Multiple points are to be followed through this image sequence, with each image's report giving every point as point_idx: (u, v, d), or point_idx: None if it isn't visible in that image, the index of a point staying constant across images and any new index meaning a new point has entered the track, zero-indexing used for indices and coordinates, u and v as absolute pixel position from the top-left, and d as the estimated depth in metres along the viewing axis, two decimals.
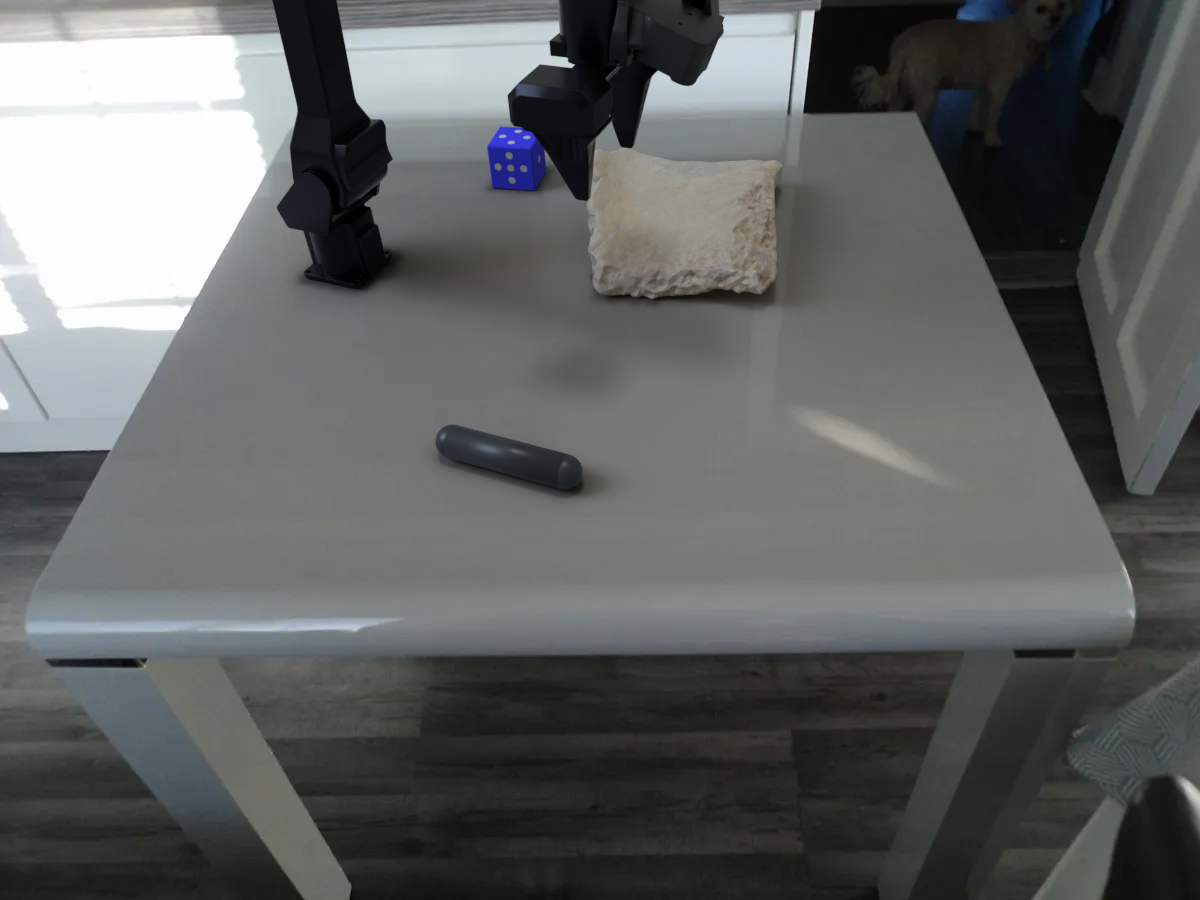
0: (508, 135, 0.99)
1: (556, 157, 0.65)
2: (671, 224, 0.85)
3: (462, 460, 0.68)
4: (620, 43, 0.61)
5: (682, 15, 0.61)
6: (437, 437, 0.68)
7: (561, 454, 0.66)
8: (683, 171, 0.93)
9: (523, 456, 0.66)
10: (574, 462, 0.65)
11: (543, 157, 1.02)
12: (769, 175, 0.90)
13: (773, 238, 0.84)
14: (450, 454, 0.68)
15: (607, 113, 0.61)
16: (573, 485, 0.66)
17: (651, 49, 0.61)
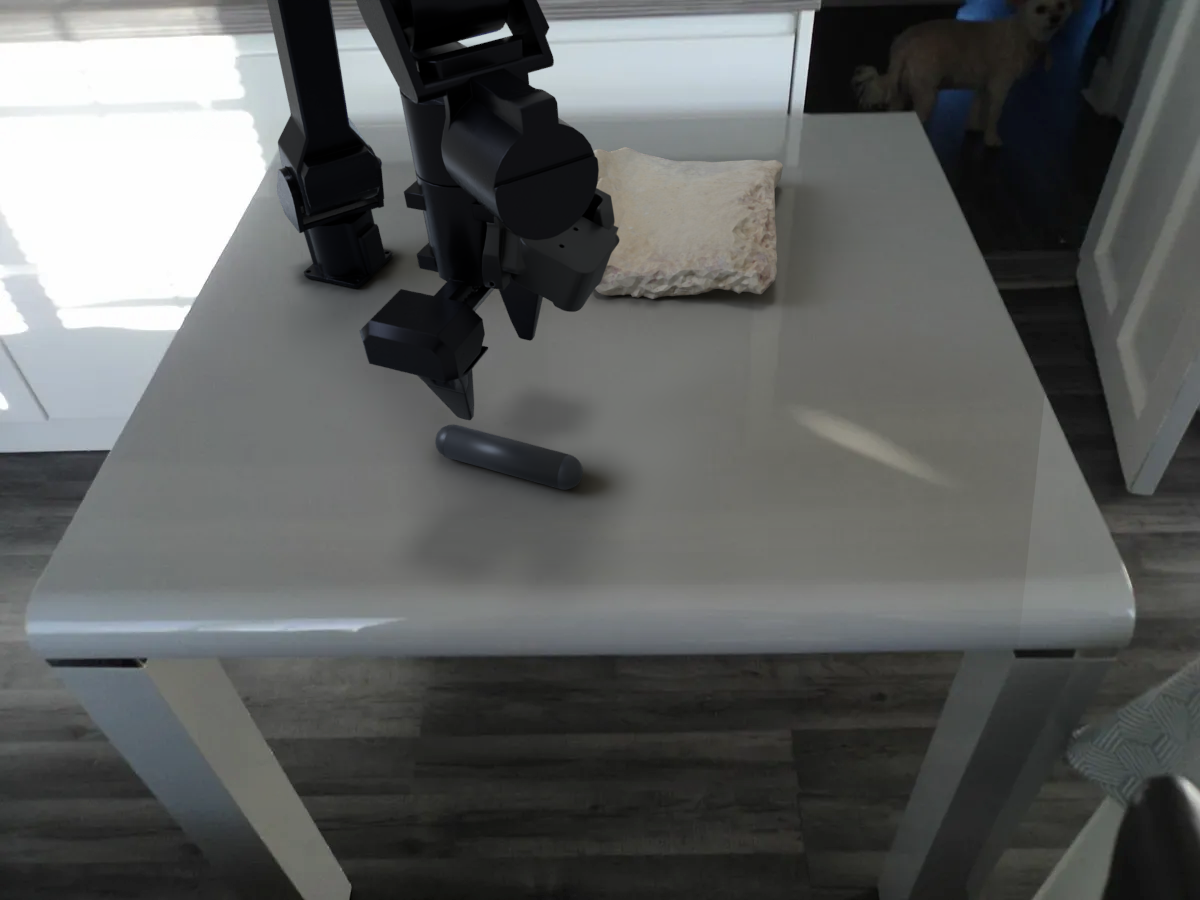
0: None
1: (429, 381, 0.57)
2: (671, 224, 0.85)
3: (462, 460, 0.68)
4: (493, 267, 0.52)
5: (566, 232, 0.53)
6: (437, 437, 0.68)
7: (561, 454, 0.66)
8: (683, 171, 0.93)
9: (523, 456, 0.66)
10: (574, 462, 0.65)
11: None
12: (769, 174, 0.90)
13: (773, 238, 0.84)
14: (450, 454, 0.68)
15: (478, 349, 0.52)
16: (573, 485, 0.66)
17: (529, 273, 0.52)
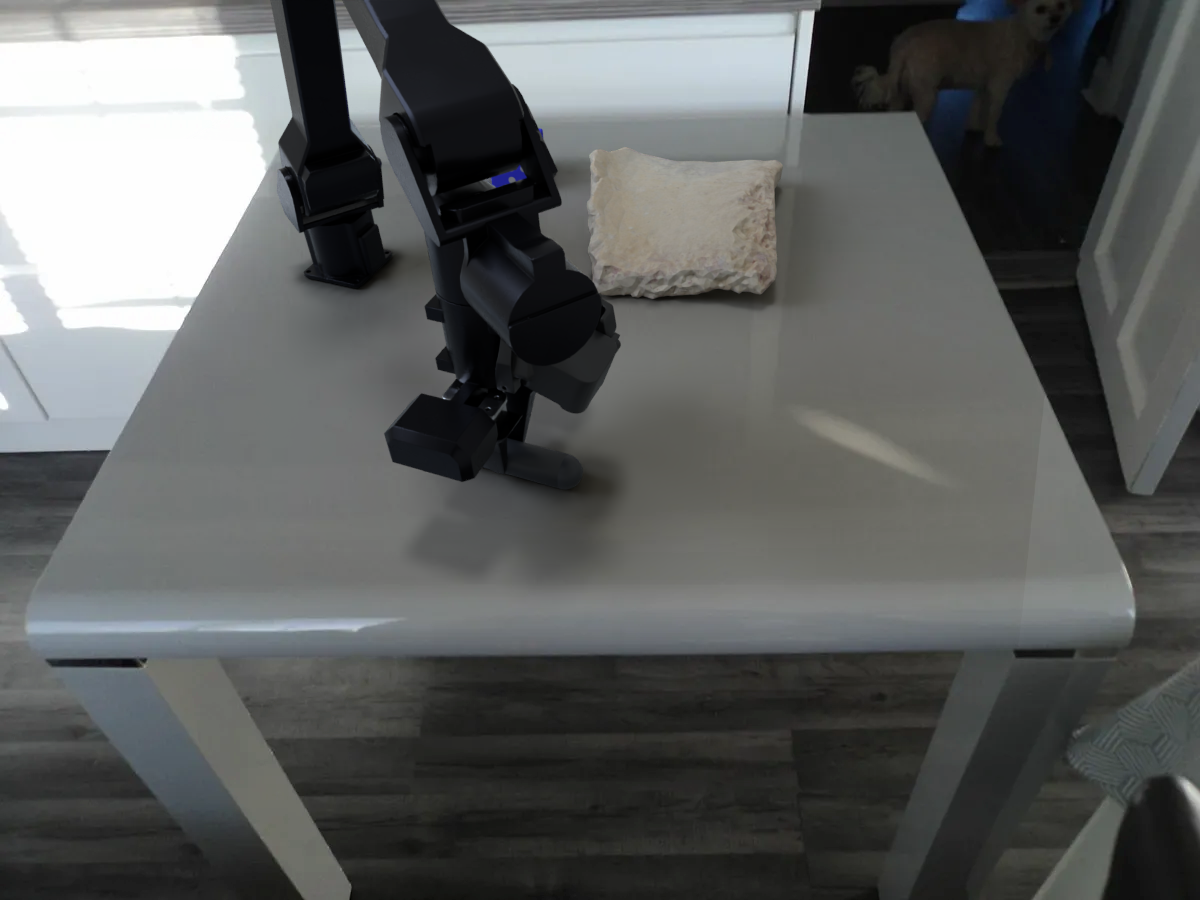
0: None
1: None
2: (671, 224, 0.85)
3: None
4: (505, 374, 0.57)
5: None
6: None
7: (561, 454, 0.66)
8: (683, 171, 0.93)
9: (523, 456, 0.66)
10: (574, 462, 0.65)
11: None
12: (769, 174, 0.90)
13: (773, 238, 0.84)
14: None
15: (491, 449, 0.57)
16: (573, 485, 0.66)
17: (538, 380, 0.57)
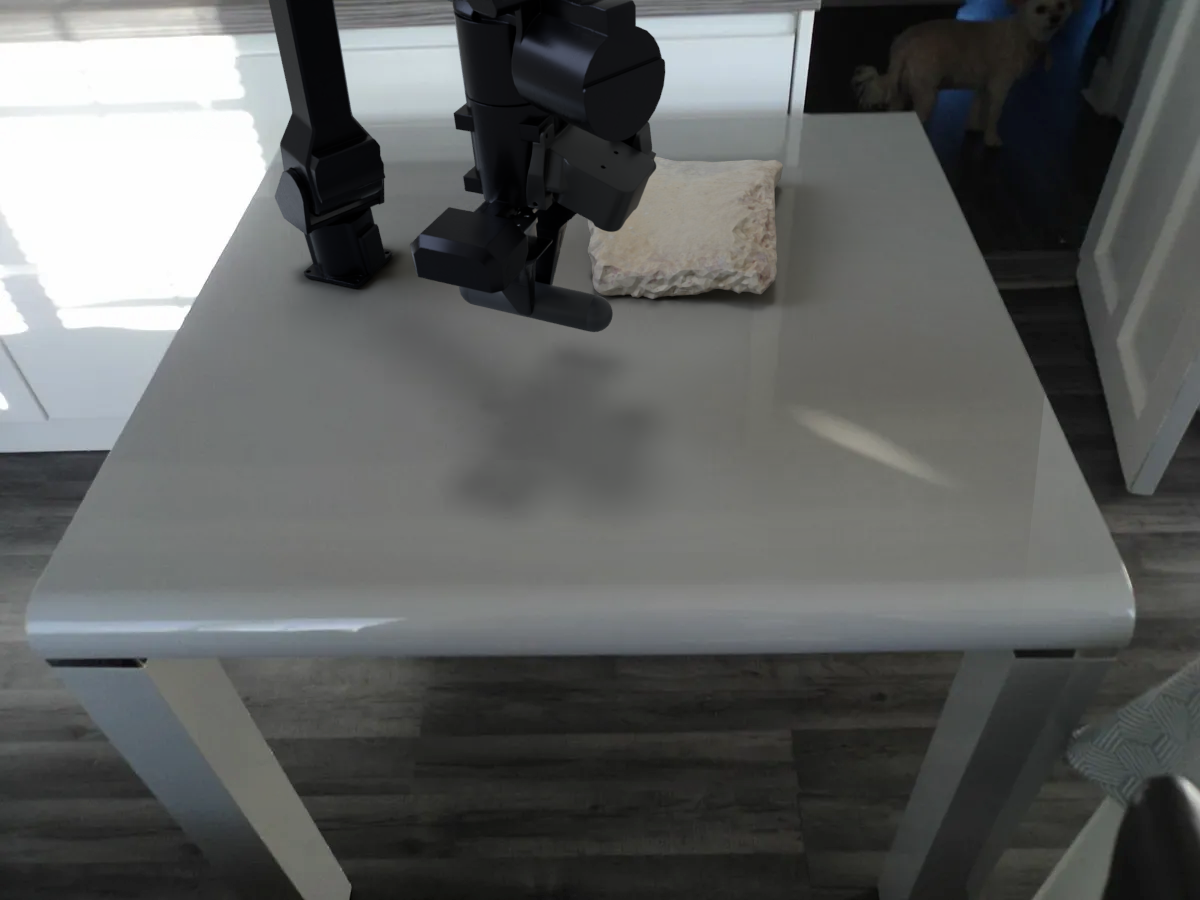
0: None
1: None
2: (671, 224, 0.85)
3: (487, 305, 0.66)
4: (537, 186, 0.55)
5: (607, 155, 0.55)
6: None
7: (590, 294, 0.63)
8: (683, 171, 0.93)
9: (551, 296, 0.63)
10: (604, 302, 0.63)
11: None
12: (769, 174, 0.90)
13: (773, 238, 0.84)
14: (475, 298, 0.66)
15: (522, 264, 0.55)
16: (603, 326, 0.63)
17: (571, 193, 0.55)
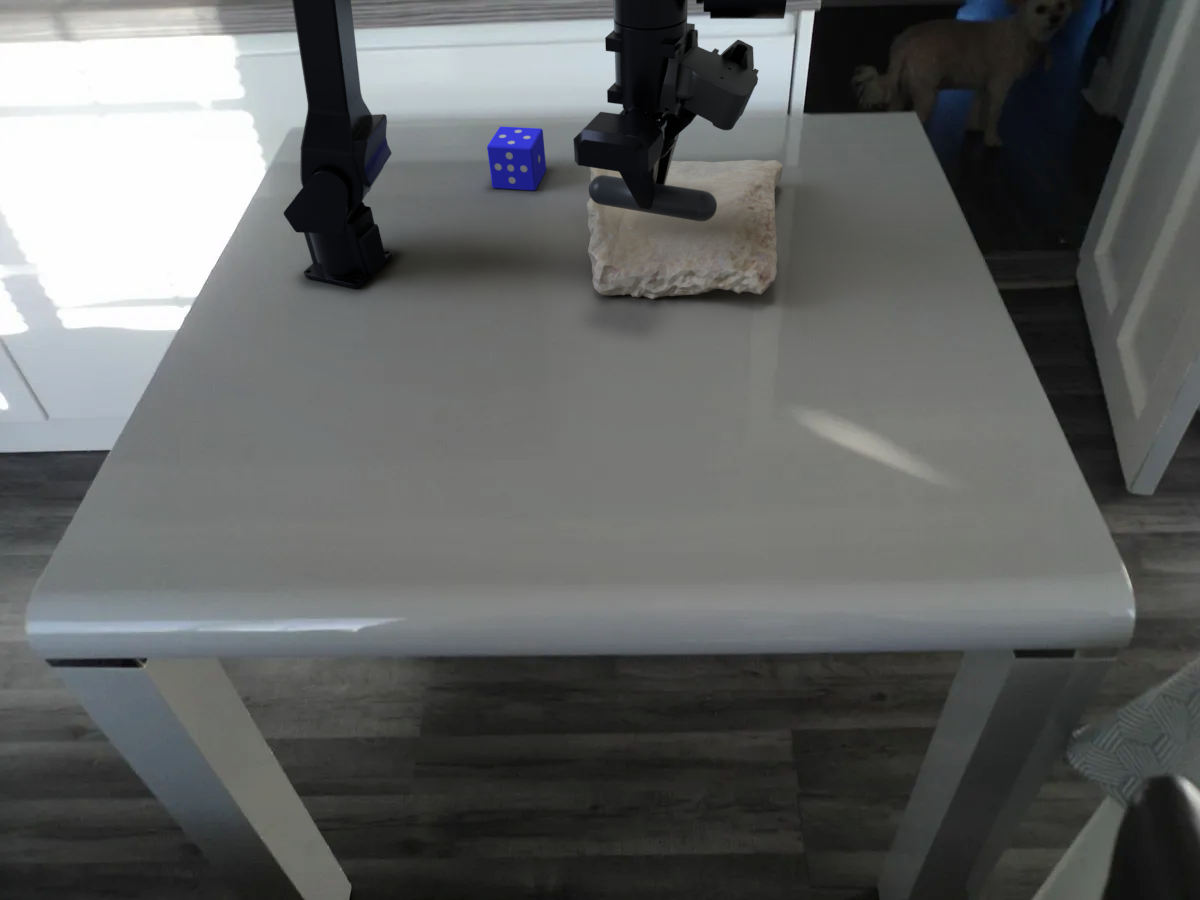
0: (508, 135, 0.99)
1: (625, 173, 0.77)
2: (671, 224, 0.85)
3: (613, 203, 0.81)
4: (670, 94, 0.71)
5: (723, 70, 0.71)
6: (591, 184, 0.82)
7: (699, 190, 0.79)
8: (683, 171, 0.93)
9: (668, 192, 0.79)
10: (711, 195, 0.79)
11: (543, 157, 1.02)
12: (769, 175, 0.90)
13: (773, 238, 0.84)
14: (603, 198, 0.81)
15: (659, 154, 0.71)
16: (709, 215, 0.79)
17: (696, 99, 0.71)
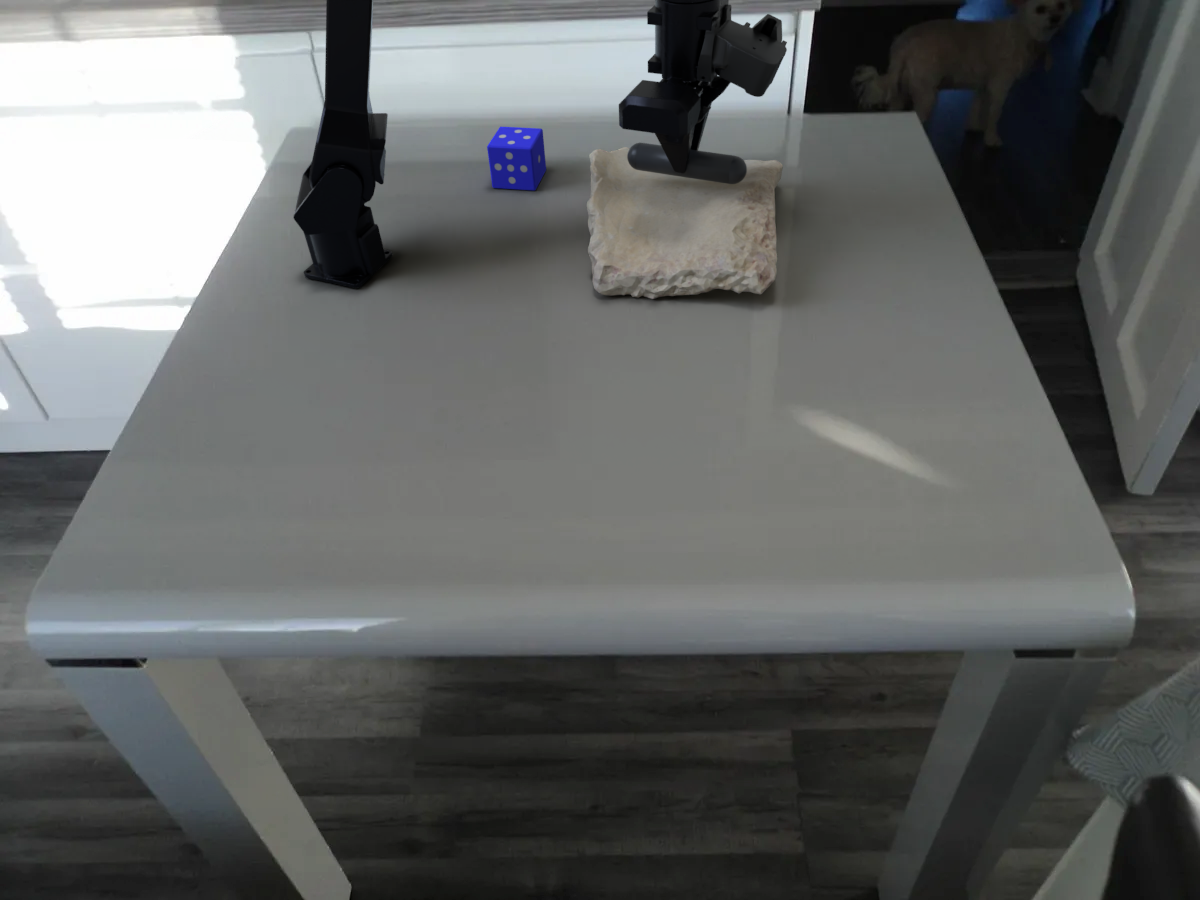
0: (508, 135, 0.99)
1: (663, 138, 0.84)
2: (671, 224, 0.85)
3: (650, 168, 0.88)
4: (706, 63, 0.77)
5: (755, 41, 0.78)
6: (630, 151, 0.88)
7: (731, 155, 0.86)
8: None
9: (702, 157, 0.86)
10: (741, 160, 0.85)
11: (543, 157, 1.02)
12: (769, 174, 0.90)
13: (773, 238, 0.84)
14: (641, 163, 0.88)
15: (696, 119, 0.77)
16: (740, 178, 0.86)
17: (730, 68, 0.77)
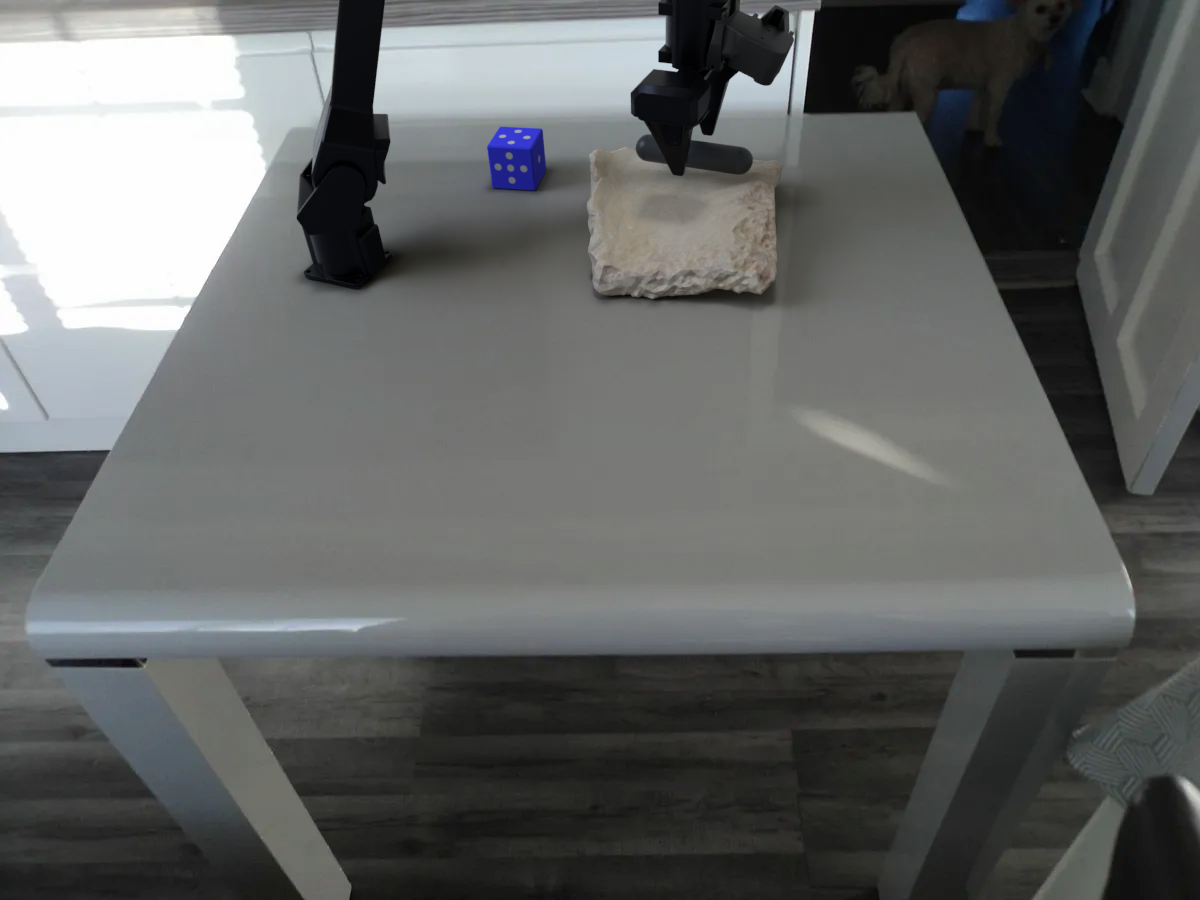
0: (508, 135, 0.99)
1: (661, 141, 0.84)
2: (671, 224, 0.85)
3: (658, 160, 0.90)
4: (716, 53, 0.79)
5: (763, 31, 0.80)
6: (638, 143, 0.90)
7: (737, 146, 0.87)
8: None
9: (708, 149, 0.88)
10: (747, 151, 0.87)
11: (543, 157, 1.02)
12: (769, 174, 0.90)
13: (773, 238, 0.84)
14: (649, 156, 0.90)
15: (706, 107, 0.79)
16: (746, 169, 0.88)
17: (739, 57, 0.79)
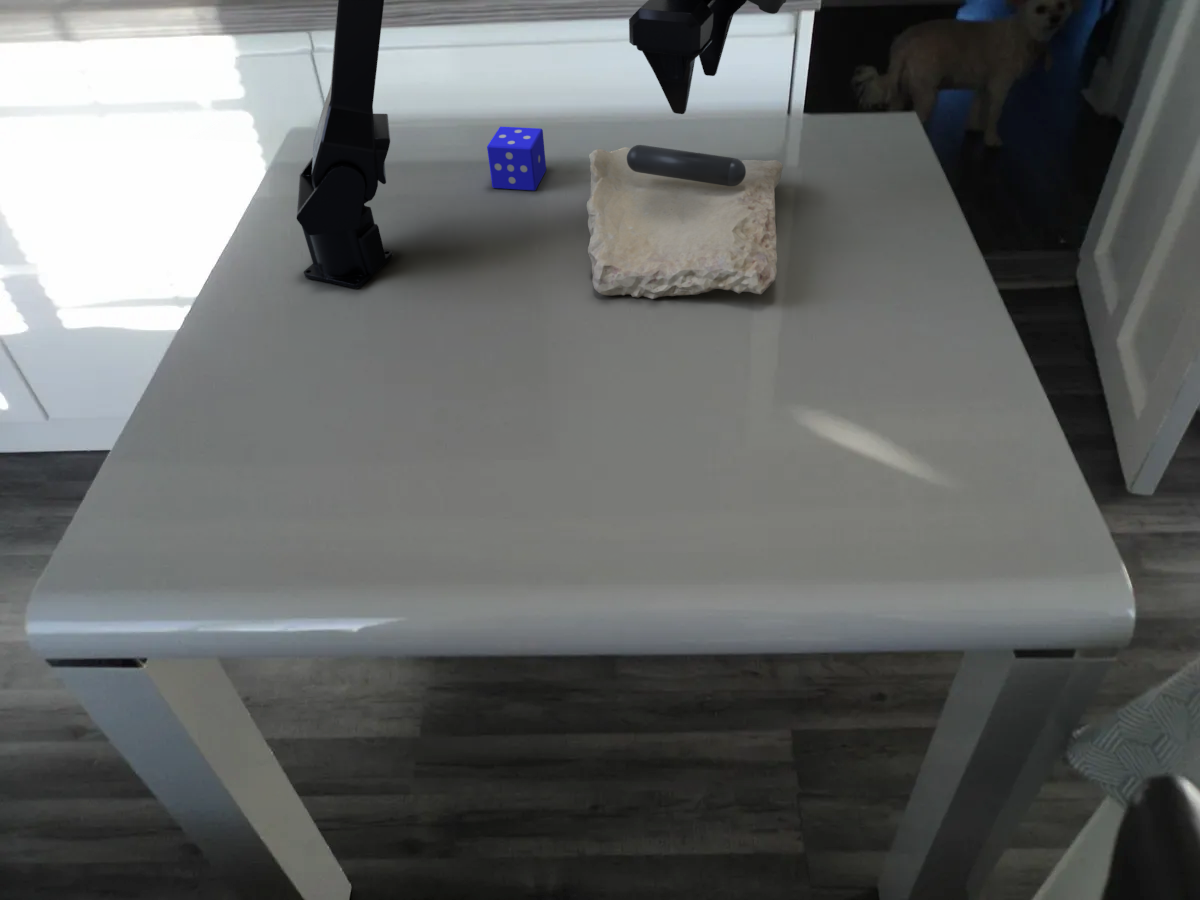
0: (508, 135, 0.99)
1: (661, 75, 0.79)
2: (671, 224, 0.85)
3: None
4: None
5: None
6: (631, 168, 0.90)
7: (724, 178, 0.86)
8: None
9: (700, 181, 0.88)
10: (736, 181, 0.86)
11: (543, 157, 1.02)
12: (769, 175, 0.90)
13: (773, 238, 0.84)
14: None
15: (709, 35, 0.75)
16: None
17: None
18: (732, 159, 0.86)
